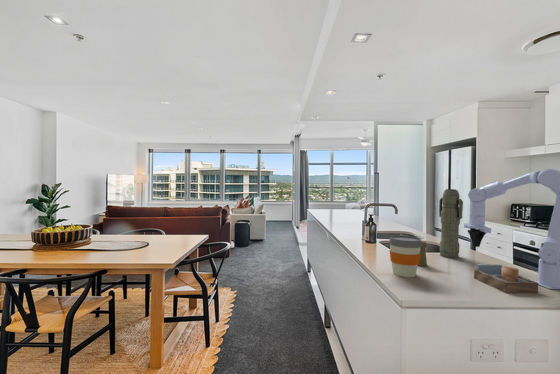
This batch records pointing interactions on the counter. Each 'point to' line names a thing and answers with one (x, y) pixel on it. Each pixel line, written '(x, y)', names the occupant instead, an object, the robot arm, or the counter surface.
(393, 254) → the reusable coffee cup
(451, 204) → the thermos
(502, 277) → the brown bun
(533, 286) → the caddy
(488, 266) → the tray
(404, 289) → the counter surface
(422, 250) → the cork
